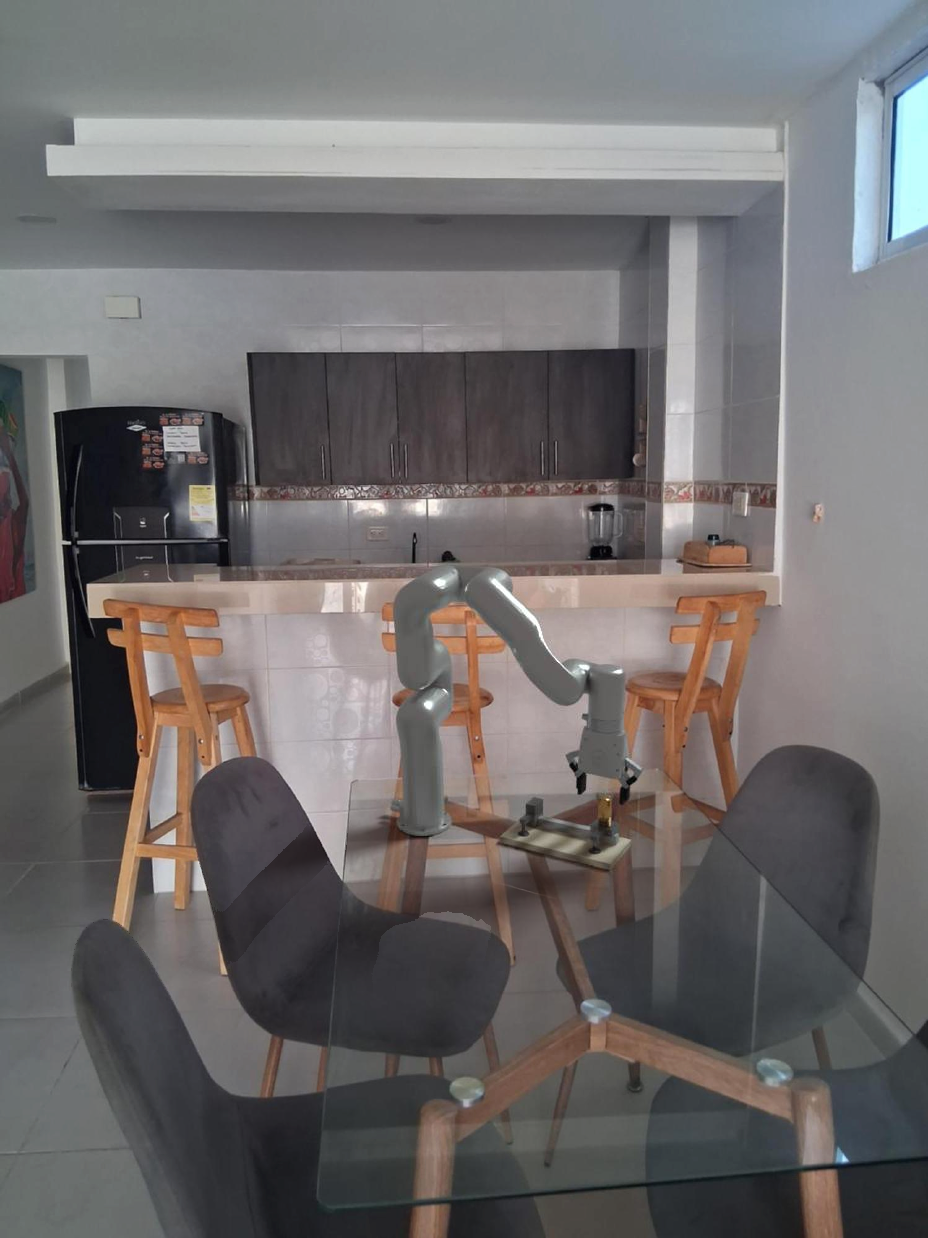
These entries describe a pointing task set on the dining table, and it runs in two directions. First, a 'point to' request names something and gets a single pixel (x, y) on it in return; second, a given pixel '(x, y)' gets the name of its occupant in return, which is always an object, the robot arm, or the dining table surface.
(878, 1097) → the dining table surface
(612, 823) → the brass and grey piece
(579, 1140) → the dining table surface
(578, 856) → the hole plate
